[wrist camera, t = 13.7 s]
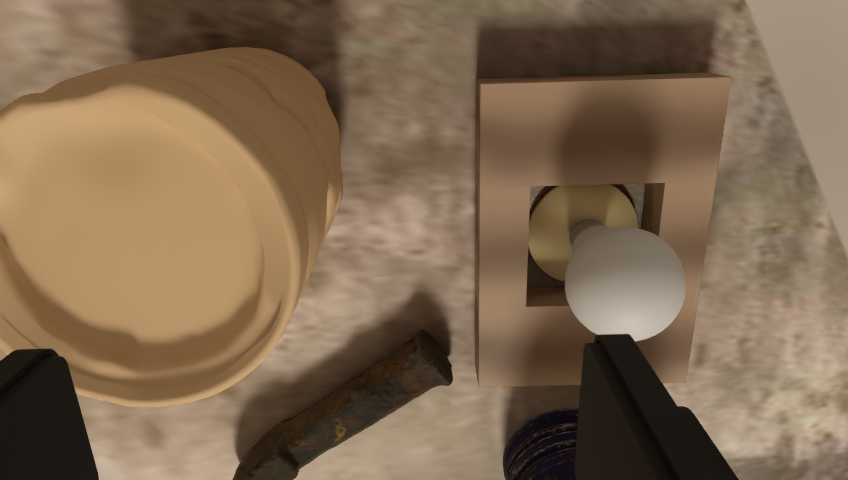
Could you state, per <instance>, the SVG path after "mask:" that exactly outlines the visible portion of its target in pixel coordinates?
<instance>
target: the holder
mask: <svg viewBox="0 0 848 480" xmlns="http://www.w3.org/2000/svg"><path fill="white" fill-rule="evenodd" d="M730 83H731V77H728V76H723V75H718V74H713V73H708V72H705V73H669V74H634V75H598V76H563V77H527V78H492V79H476V244H475V366H476V373H477V379H478V386H479V387H517V386H557V385H581V376H582V363H583V351H584V346H585V344H586V343H594V339H595V336H596V335H597V334H595V333H593V332H592V331H590V330H589V329H588V328H587V327H585V326H584V325H583V324H582V323H581V322H580V321H579V320H578V319H577V317H576V316H575V315H574V313H573V312H572V310H571V308H570V305H569V303H568V301H567V297H566V292H565V286H542V287H527V265H528V247H529V250H530V253H531V255H532V257H533V259H534V260H535V262H536V263H537V265H538V266H539V267H540V268H541V269H542V270H543V271H544V272H545V273H547V274H548V275H550V276H551V277H553V278H555V279H557V280H560V281H564V282H565V274H566V269H567V265H568V263H569V261H570V259H571V257H572V248H571V245H570V242H569V236H570V232H571V230H572V229H573V227H574V226H575V225H576V224H577V223H579V222H581V221H583V220H587V219H594V220H598V221H600V222H601V223H603V224H604V225H605V226H608V227H611V228H614V227H634V228H638V223H637V216H636V213H635V210H634V208H633V206H632V204H631V202H630V201H629V199H628V198H627V197H626V196H625V195H624V194H623V193H622V192H621V191H620V190H619V189H617V188H616V187H614V186H613V185H611V184H638V183H646V188H645V197H644V206H643V216H642V225H641V229H642V230H645V231H648V232H651V233H653V234H655V235H657V236H658V237H660V238H662V239H663V240H664V241H665V242H666V243H667V244H668V245H669V246H670V247H671V248H672V249H673V250H674V251H675V253H676V254H677V256H678V257H679V259H680V261H681V264H682V266H683V269H684V272H685V280H686V295H685V299H684V302H683V305H682V307H681V309H680V311H679V313H678V315H677V316H676V318H675V319H674V320H673V322H672V323H671V324H670V325H669V326H668V327H667V328H665V329H664V330H663V331H661V332H660V333H658V334H657V335H655V336H652V337H650V338H647V339H644V340H640V341H635V343H636V344H637V346H638V347H639V349H640V350H641V352H642V353H643V355H644V356H645V358H646V359H647V361H648V362H649V364H650V365H651V367H652V369H653V370H654V372H655V373H656V375H657V376H658V378H659V379H660V381H661V382H662V383H679V382H686V378H687V371H688V365H689V358H690V351H691V344H692V338H693V331H694V324H695V318H696V311H697V304H698V298H699V291H700V284H701V277H702V271H703V264H704V257H705V251H706V244H707V237H708V230H709V224H710V217H711V210H712V204H713V197H714V190H715V184H716V177H717V170H718V163H719V157H720V150H721V143H722V137H723V130H724V123H725V116H726V110H727V103H728V96H729V90H730ZM530 186H556V187H554V188H553V189H551V190H550V191H548V192H547V193H546V194H545V195H544V196H543V197H542V198H541V199H540V200H539V201H538V203H537V204H536V206H535V207H534V209H533V211H532V213H531V215H530V218H529V211H530Z"/></svg>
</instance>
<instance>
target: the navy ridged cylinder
mask: <svg viewBox="0 0 848 480" xmlns="http://www.w3.org/2000/svg"><path fill="white" fill-rule="evenodd" d="M578 415H579V410H578V409H563V410H556V411H551V412H547V413H545V414H542V415H539V416H537V417H535V418H533V419H531V420H530V421H528V422H527V423H525V424H524V425H523V426H521V427H520V428H519V429H518V430H517V431H516V432H515V433H514V435H513V436H512V438H511V439H510V440H509V442H508V444H507V446H506V449H505V452H504V457H503V469H504V476H505V479H506V480H576V475H575V454H576V441H577V428H578Z"/></svg>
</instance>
